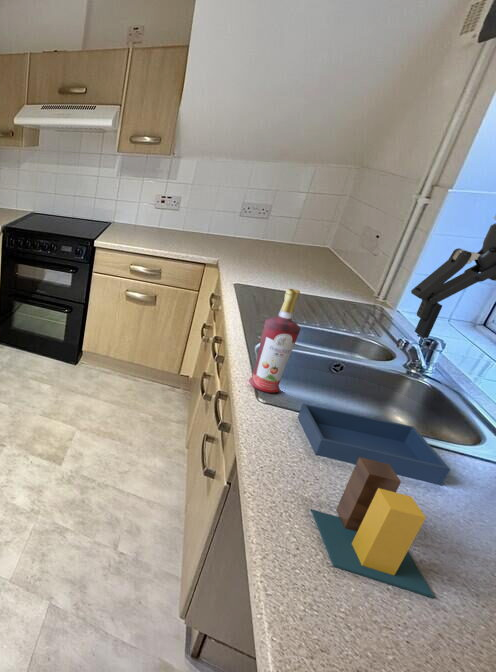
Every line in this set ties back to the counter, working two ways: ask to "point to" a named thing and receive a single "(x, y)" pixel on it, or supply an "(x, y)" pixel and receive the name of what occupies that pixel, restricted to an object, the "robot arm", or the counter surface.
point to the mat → (347, 559)
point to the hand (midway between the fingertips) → (469, 342)
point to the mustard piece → (387, 531)
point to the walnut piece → (364, 490)
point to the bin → (371, 442)
